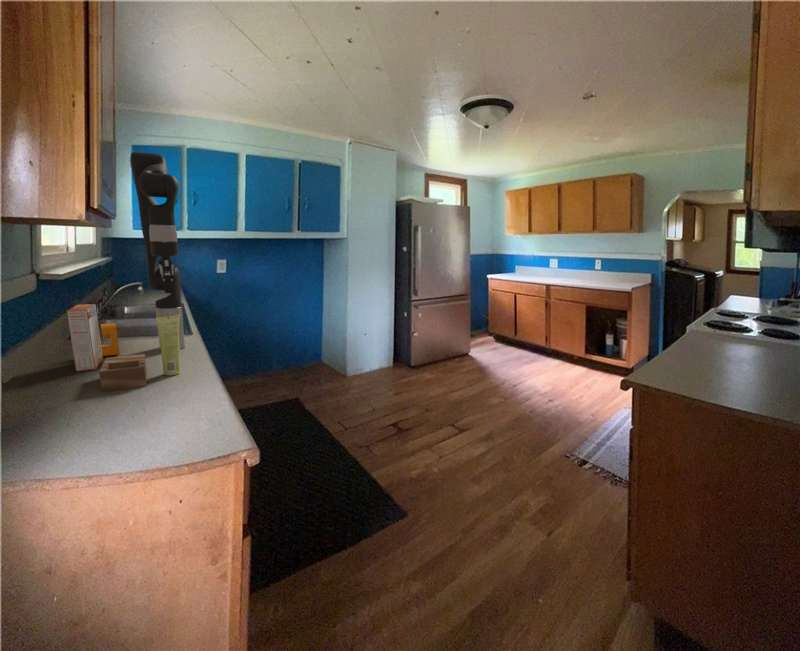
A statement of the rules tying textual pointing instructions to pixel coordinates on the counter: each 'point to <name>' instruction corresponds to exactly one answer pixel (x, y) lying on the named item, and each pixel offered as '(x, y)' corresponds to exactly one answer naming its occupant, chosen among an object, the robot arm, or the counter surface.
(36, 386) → the counter surface
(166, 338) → the tube
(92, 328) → the cracker box
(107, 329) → the bracket
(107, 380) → the wooden box
